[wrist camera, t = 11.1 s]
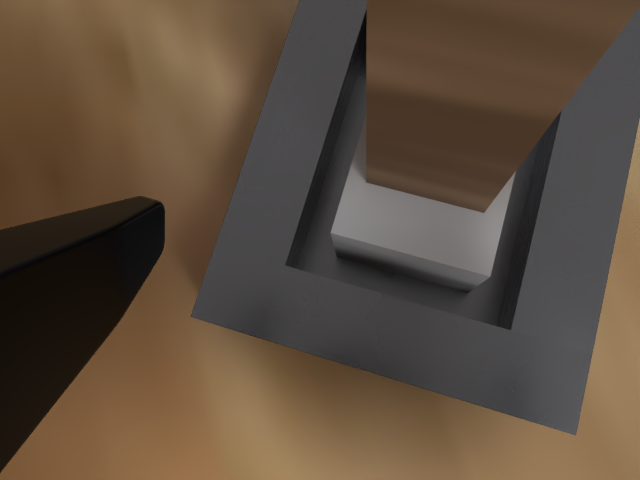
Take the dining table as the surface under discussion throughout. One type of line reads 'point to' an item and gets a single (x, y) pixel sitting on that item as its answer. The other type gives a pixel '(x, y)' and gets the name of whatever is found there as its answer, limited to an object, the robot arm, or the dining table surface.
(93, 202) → the dining table surface
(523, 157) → the slot cleaner tool
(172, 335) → the dining table surface
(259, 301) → the holder block
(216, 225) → the dining table surface
